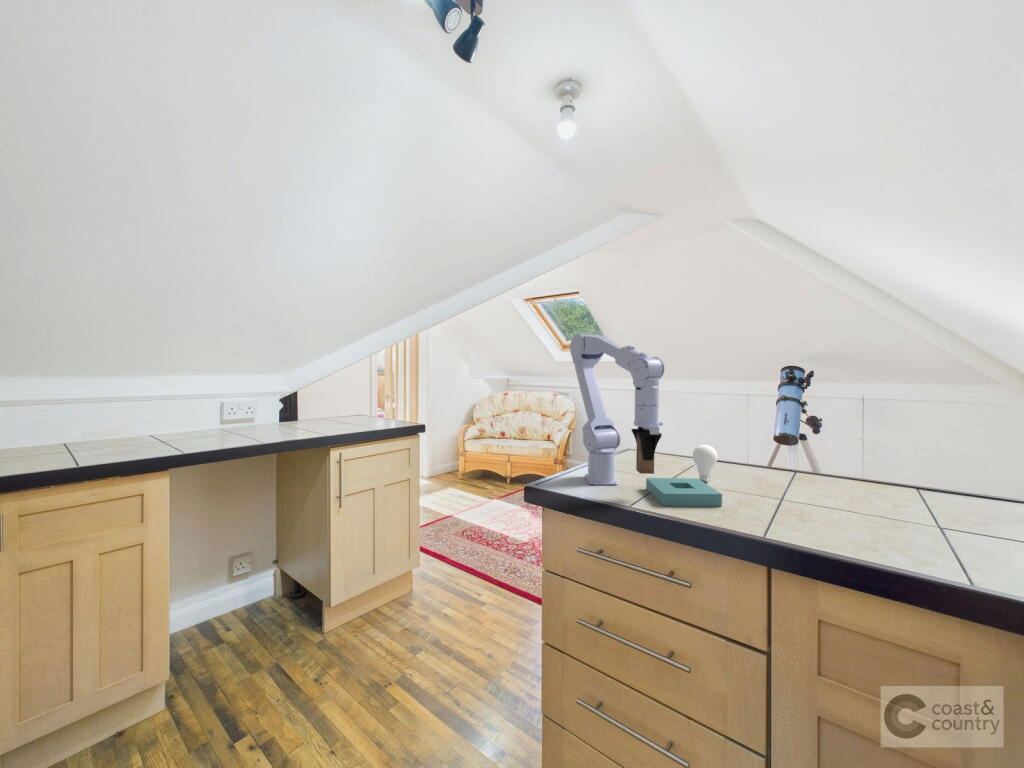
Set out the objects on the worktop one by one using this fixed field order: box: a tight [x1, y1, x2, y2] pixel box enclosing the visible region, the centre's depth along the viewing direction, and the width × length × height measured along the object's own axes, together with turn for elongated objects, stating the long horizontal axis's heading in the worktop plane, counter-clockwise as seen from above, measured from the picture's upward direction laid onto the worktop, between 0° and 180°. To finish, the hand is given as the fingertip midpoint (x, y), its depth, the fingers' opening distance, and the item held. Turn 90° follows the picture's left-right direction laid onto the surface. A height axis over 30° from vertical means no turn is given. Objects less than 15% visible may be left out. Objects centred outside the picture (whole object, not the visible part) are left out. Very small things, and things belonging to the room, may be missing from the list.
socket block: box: [645, 477, 723, 507], centre depth 109 cm, size 14×14×3 cm
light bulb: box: [692, 444, 719, 483], centre depth 122 cm, size 7×7×11 cm
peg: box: [635, 434, 655, 475], centre depth 107 cm, size 4×4×10 cm
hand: (645, 458), depth 107 cm, fingers closed on peg, 3 cm apart
